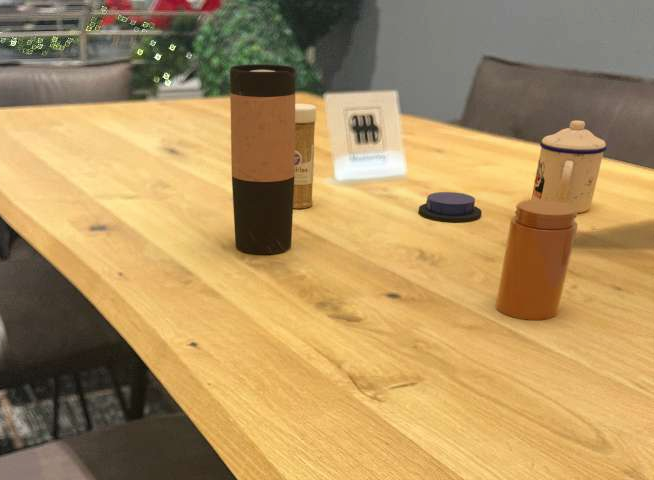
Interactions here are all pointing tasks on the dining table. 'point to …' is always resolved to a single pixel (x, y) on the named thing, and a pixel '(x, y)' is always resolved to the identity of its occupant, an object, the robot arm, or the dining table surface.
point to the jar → (536, 259)
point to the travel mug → (263, 156)
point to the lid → (450, 203)
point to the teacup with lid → (569, 167)
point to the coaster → (445, 218)
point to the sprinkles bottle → (304, 154)
